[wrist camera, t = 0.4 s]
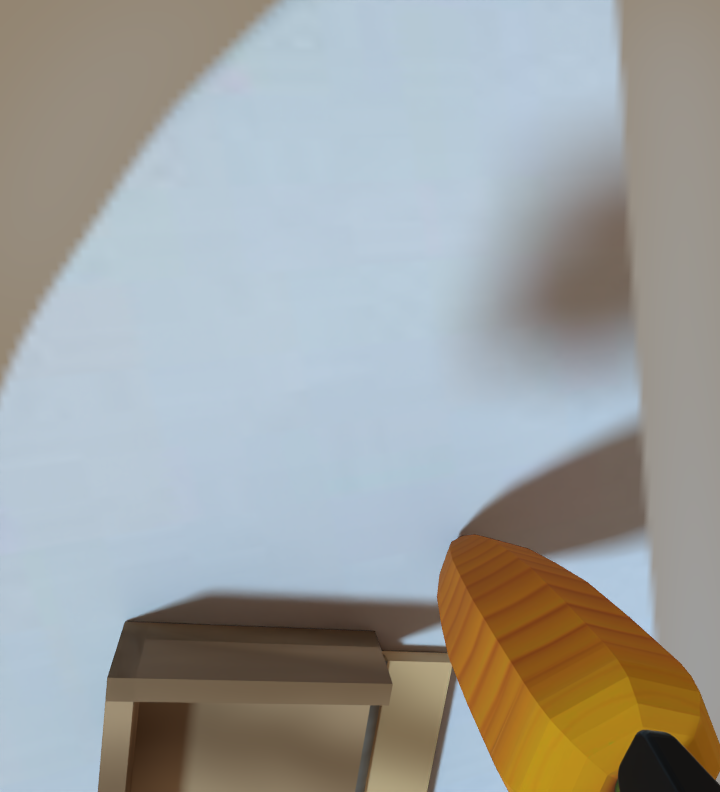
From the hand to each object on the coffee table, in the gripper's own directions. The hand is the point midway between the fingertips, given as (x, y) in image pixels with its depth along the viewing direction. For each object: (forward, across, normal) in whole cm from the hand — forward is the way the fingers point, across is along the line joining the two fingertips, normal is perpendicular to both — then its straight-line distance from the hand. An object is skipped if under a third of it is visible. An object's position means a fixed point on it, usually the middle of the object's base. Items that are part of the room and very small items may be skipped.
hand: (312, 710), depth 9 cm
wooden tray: (+10, 0, +15) cm, 18 cm away
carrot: (+13, -5, +7) cm, 16 cm away
